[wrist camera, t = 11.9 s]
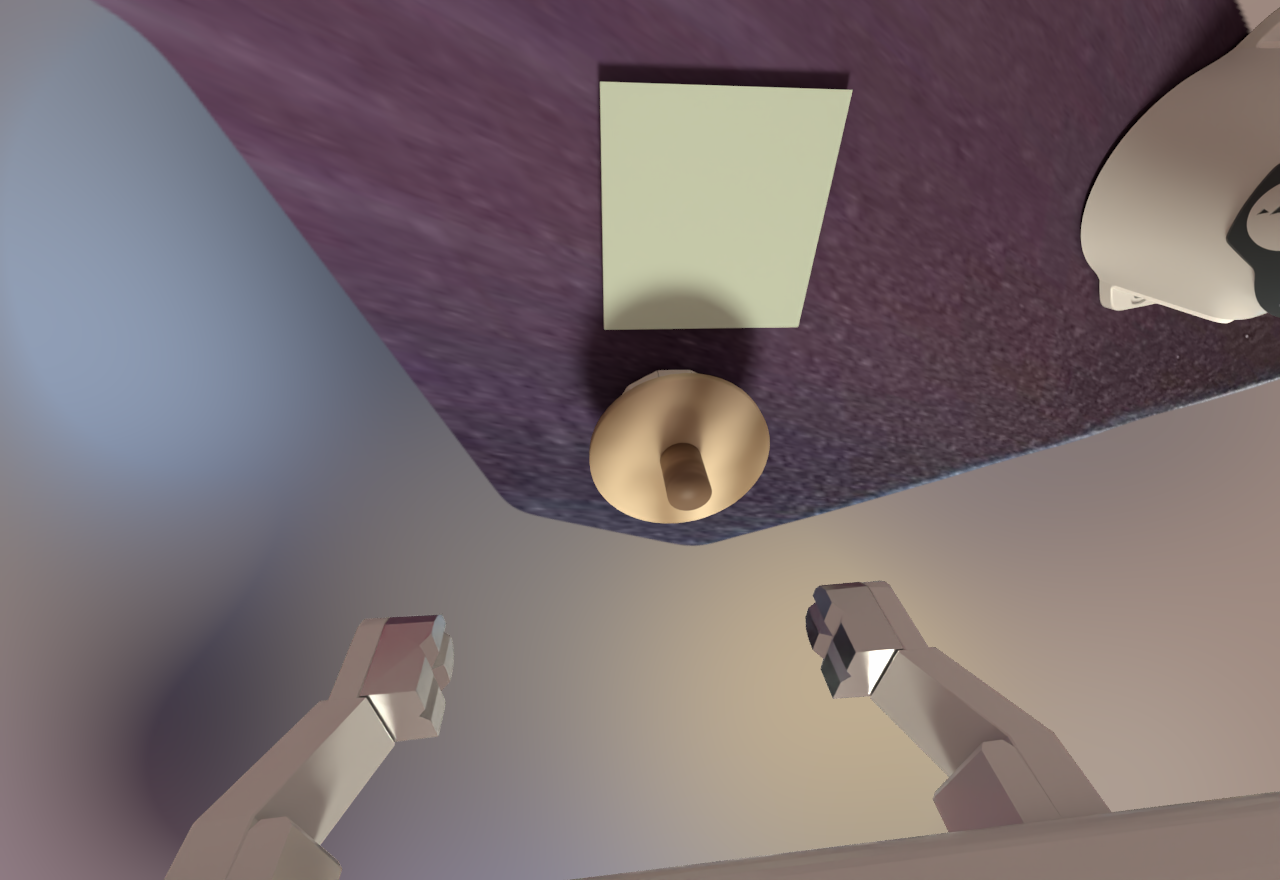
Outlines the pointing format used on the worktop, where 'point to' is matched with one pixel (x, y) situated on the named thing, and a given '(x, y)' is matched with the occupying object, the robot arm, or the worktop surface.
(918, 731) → the robot arm
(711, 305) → the mat
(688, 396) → the lid
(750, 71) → the worktop surface
